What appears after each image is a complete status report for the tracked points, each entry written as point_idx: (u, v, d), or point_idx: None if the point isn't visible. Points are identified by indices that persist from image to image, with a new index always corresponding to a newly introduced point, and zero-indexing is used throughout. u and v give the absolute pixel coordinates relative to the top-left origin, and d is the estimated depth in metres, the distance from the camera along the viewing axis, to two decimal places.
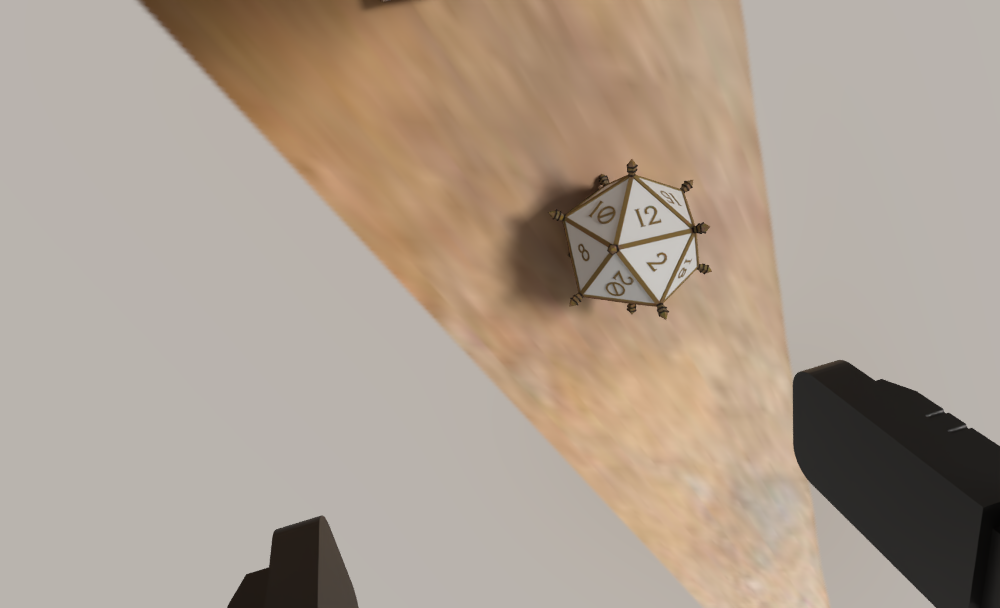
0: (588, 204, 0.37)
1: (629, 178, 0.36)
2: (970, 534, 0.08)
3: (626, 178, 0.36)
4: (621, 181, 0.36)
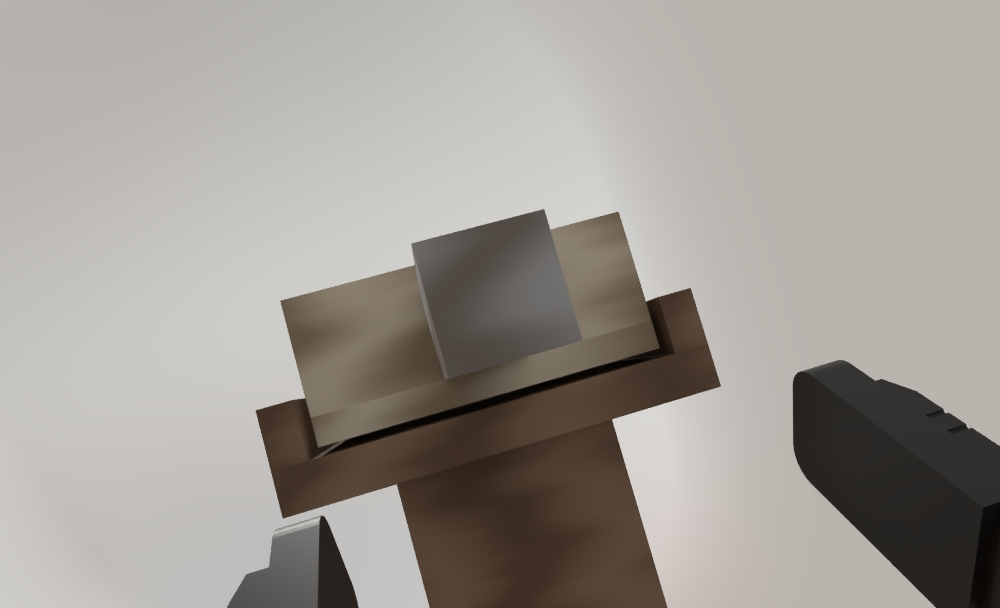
0: None
1: None
2: (970, 534, 0.08)
3: None
4: None
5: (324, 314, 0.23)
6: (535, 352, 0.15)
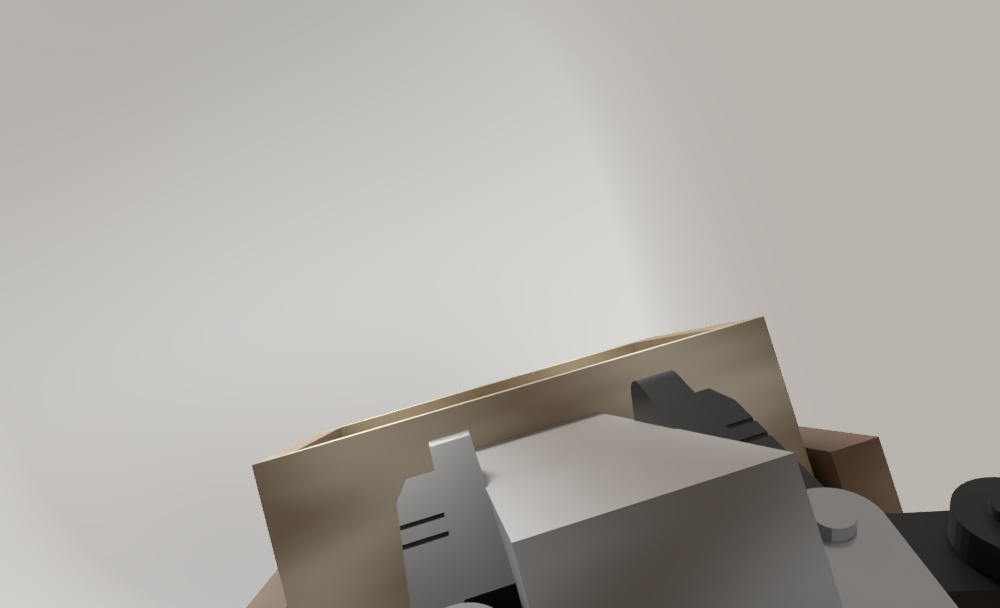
0: None
1: None
2: None
3: None
4: None
5: (320, 485, 0.15)
6: None
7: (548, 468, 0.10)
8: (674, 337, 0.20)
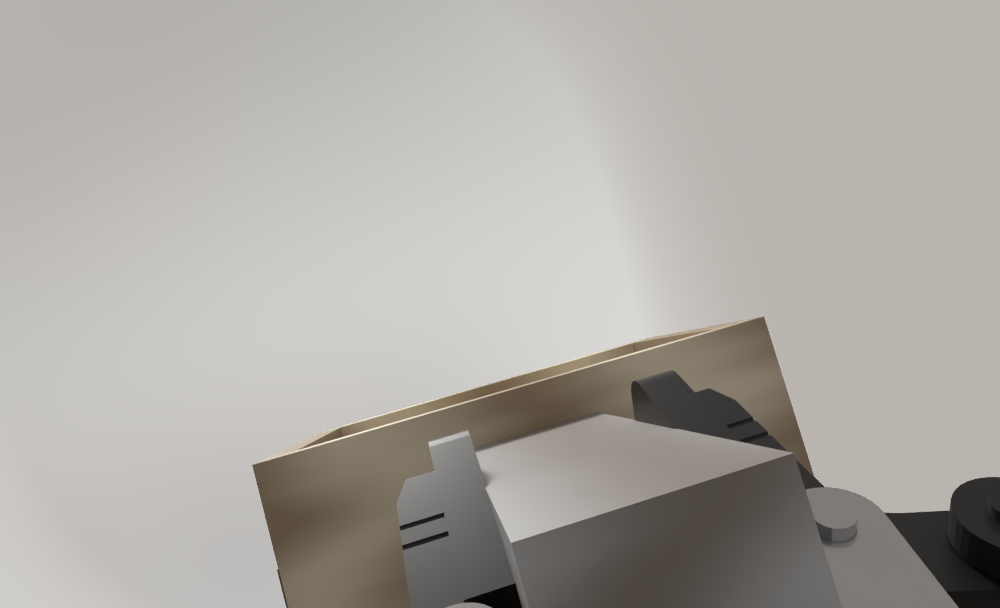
0: None
1: None
2: None
3: None
4: None
5: (321, 485, 0.15)
6: None
7: (548, 468, 0.10)
8: (674, 337, 0.20)
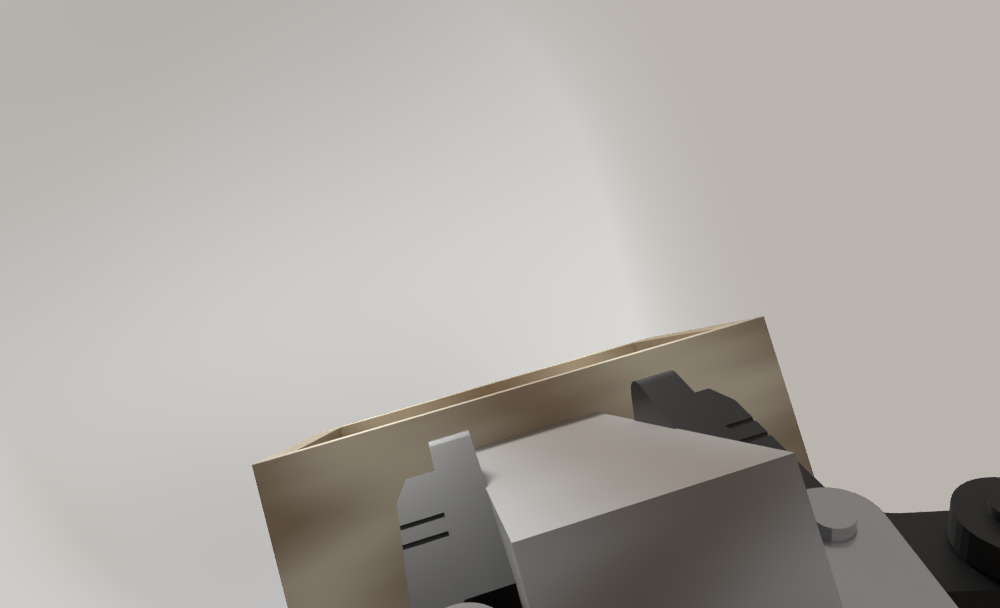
0: None
1: None
2: None
3: None
4: None
5: (320, 485, 0.15)
6: None
7: (548, 468, 0.10)
8: (674, 337, 0.20)
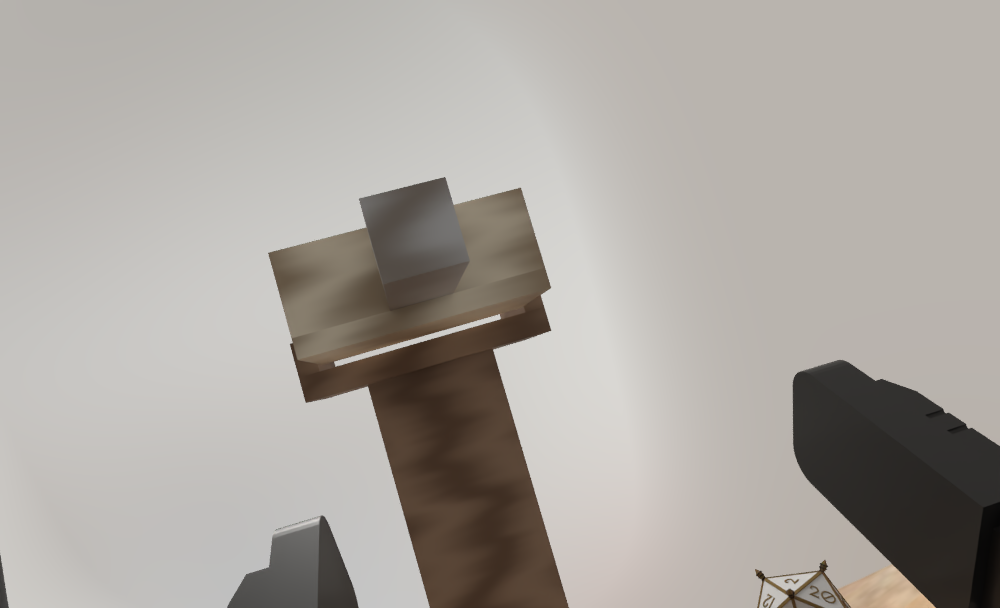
0: None
1: None
2: (970, 534, 0.08)
3: None
4: None
5: (301, 263, 0.31)
6: (439, 268, 0.23)
7: None
8: None
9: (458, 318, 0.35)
